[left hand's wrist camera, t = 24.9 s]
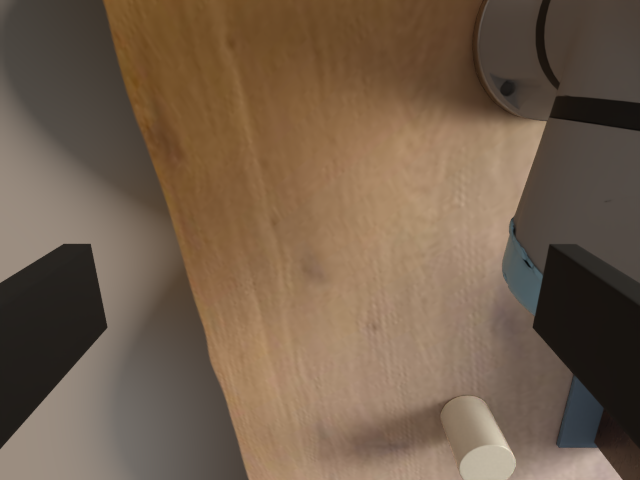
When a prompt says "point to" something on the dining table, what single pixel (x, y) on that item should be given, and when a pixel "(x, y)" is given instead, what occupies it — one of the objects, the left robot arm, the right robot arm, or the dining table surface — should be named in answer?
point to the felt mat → (580, 418)
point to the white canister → (476, 440)
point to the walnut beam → (618, 448)
